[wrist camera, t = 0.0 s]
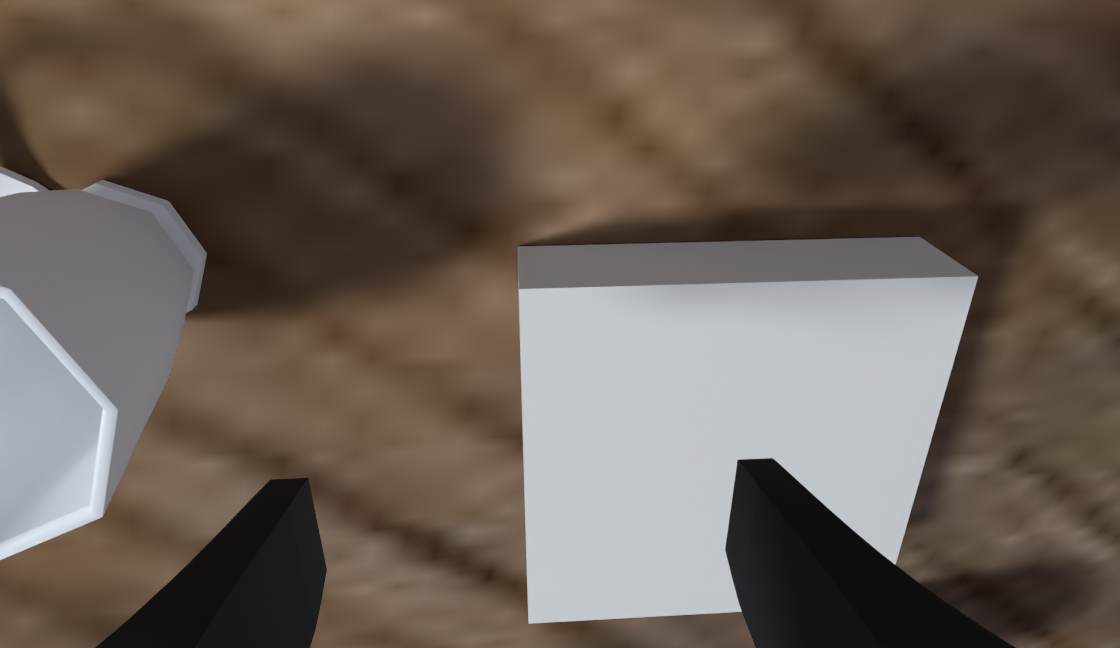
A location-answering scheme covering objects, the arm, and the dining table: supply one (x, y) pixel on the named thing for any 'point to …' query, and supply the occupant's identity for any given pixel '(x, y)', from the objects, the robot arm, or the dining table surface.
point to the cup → (82, 343)
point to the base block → (718, 403)
